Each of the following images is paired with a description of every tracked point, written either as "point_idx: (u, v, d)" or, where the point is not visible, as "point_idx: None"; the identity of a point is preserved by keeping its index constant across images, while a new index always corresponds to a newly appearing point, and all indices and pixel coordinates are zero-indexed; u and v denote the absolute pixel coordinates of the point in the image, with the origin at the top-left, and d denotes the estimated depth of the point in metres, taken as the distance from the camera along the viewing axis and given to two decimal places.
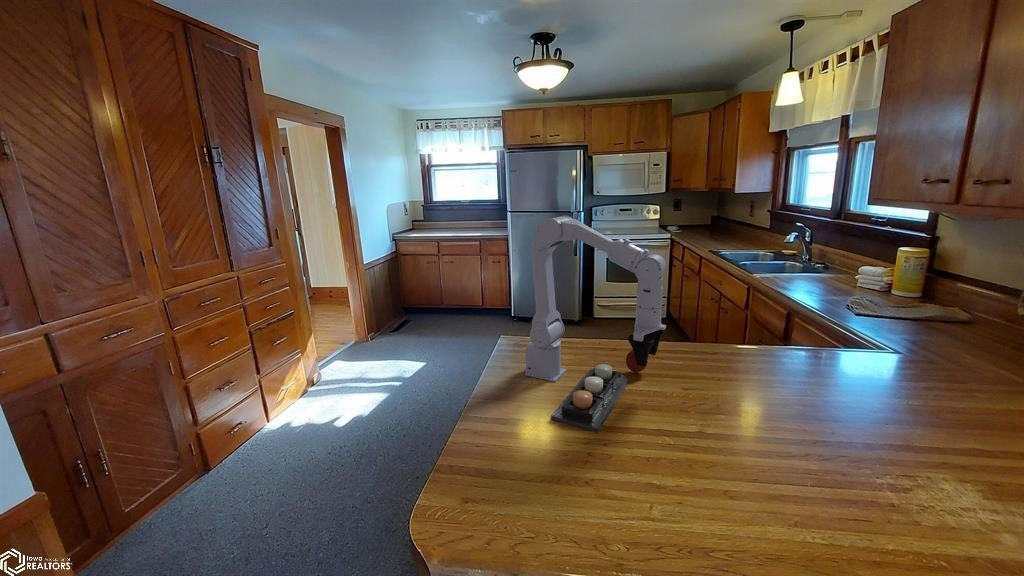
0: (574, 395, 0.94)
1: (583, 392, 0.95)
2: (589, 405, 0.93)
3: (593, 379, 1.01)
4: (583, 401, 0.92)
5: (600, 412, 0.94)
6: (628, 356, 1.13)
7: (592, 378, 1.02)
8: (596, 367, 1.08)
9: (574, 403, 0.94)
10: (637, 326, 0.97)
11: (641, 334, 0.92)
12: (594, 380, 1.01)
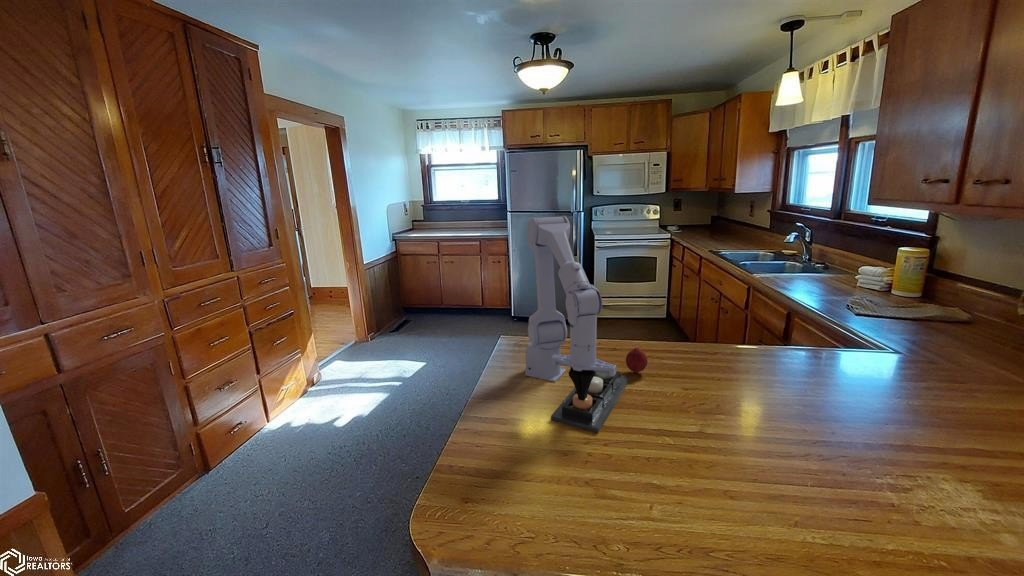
0: (574, 398, 0.94)
1: None
2: (589, 408, 0.93)
3: (593, 379, 1.01)
4: (583, 404, 0.92)
5: (600, 412, 0.94)
6: (628, 356, 1.13)
7: None
8: None
9: (574, 406, 0.94)
10: None
11: (551, 357, 0.95)
12: (594, 380, 1.01)
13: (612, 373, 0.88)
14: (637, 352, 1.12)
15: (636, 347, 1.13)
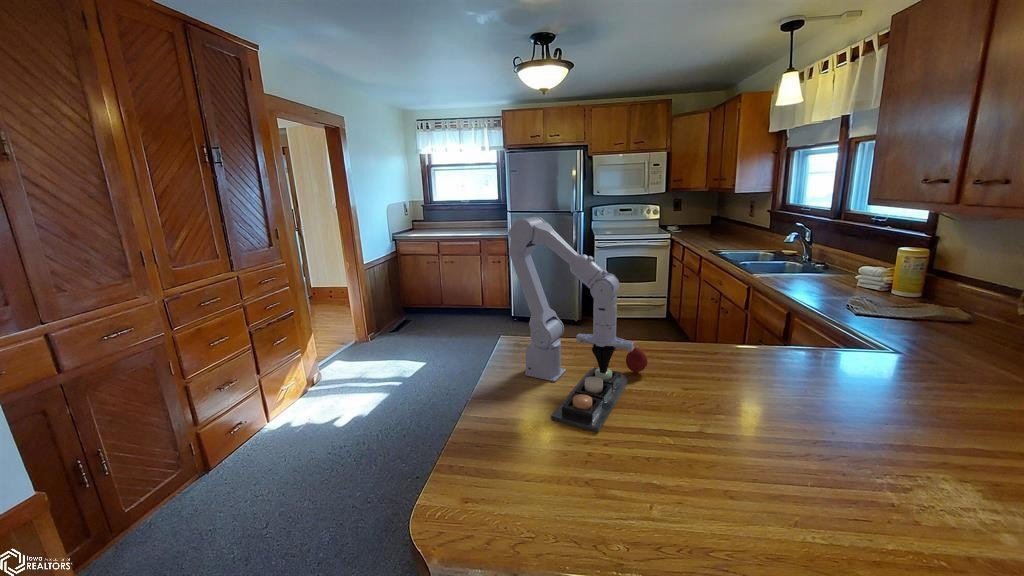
0: (574, 399, 0.94)
1: (583, 396, 0.95)
2: (589, 409, 0.93)
3: (593, 379, 1.01)
4: (583, 405, 0.92)
5: (600, 412, 0.94)
6: (628, 356, 1.13)
7: (592, 378, 1.02)
8: (596, 371, 1.08)
9: None
10: None
11: (576, 336, 1.08)
12: (594, 380, 1.01)
13: (630, 349, 1.02)
14: (637, 352, 1.12)
15: (636, 347, 1.13)
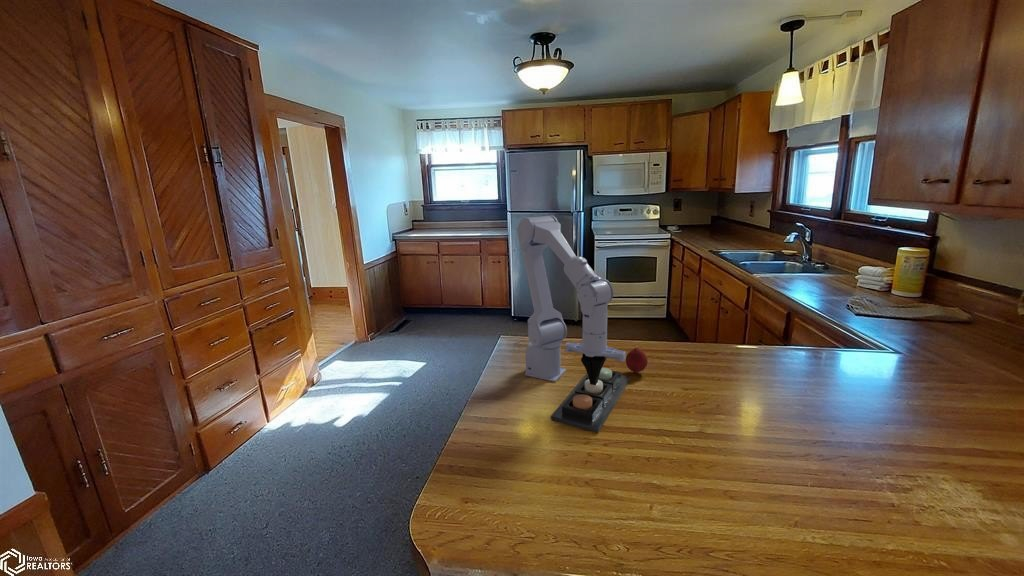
0: (574, 399, 0.94)
1: (583, 396, 0.95)
2: (589, 409, 0.93)
3: None
4: (583, 405, 0.92)
5: (600, 412, 0.94)
6: (628, 356, 1.13)
7: None
8: None
9: None
10: None
11: (565, 345, 1.02)
12: None
13: (622, 359, 0.95)
14: (637, 352, 1.12)
15: (636, 347, 1.13)
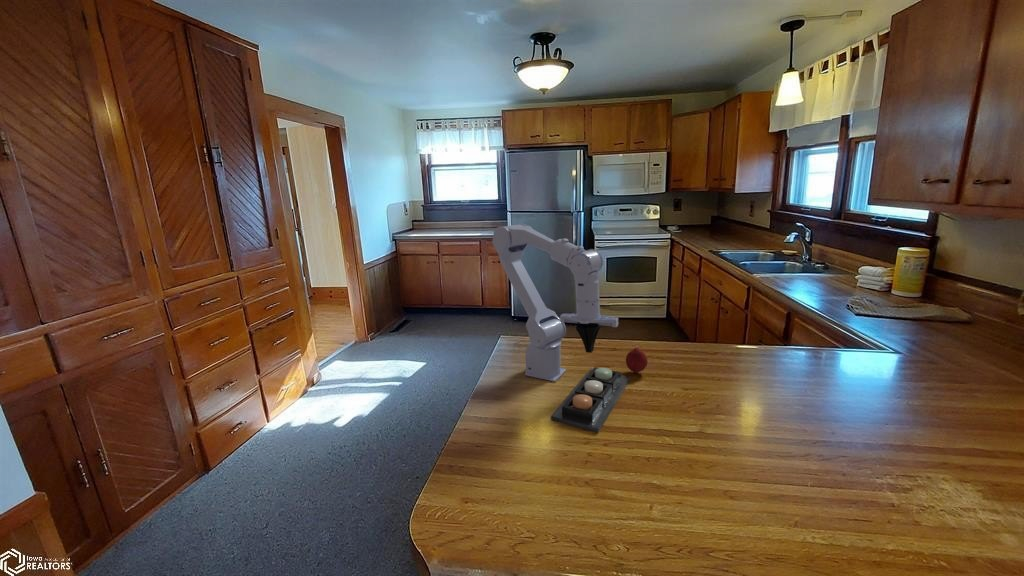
0: (574, 399, 0.94)
1: (583, 396, 0.95)
2: (589, 409, 0.93)
3: (593, 383, 1.01)
4: (583, 405, 0.92)
5: (600, 412, 0.94)
6: (628, 356, 1.13)
7: (592, 381, 1.02)
8: (596, 371, 1.08)
9: None
10: None
11: (560, 316, 1.06)
12: (594, 384, 1.01)
13: (615, 324, 0.99)
14: (637, 352, 1.12)
15: (636, 347, 1.13)
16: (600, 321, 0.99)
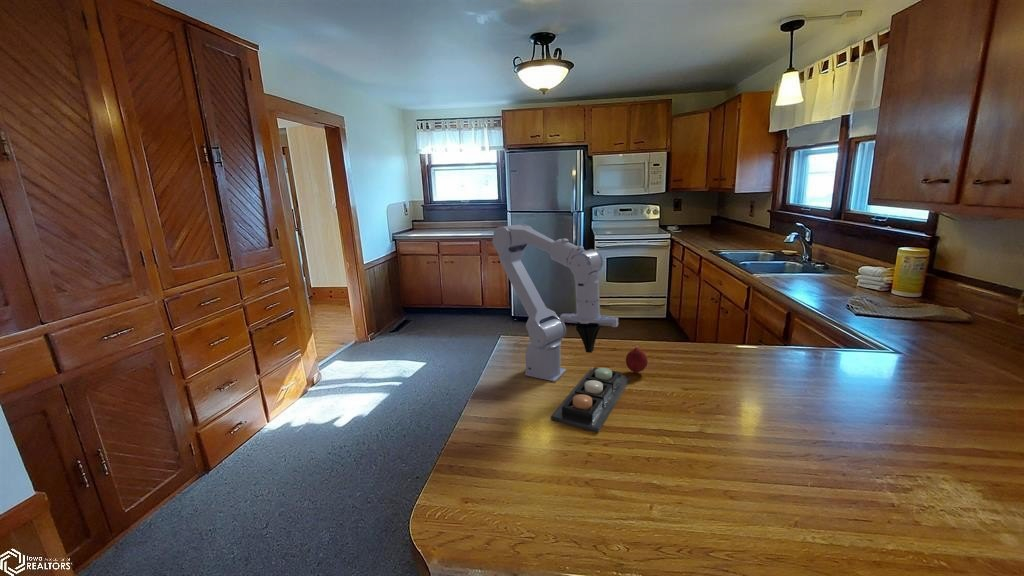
0: (574, 399, 0.94)
1: (583, 396, 0.95)
2: (589, 409, 0.93)
3: (593, 383, 1.01)
4: (583, 405, 0.92)
5: (600, 412, 0.94)
6: (628, 356, 1.13)
7: (592, 381, 1.02)
8: (596, 371, 1.08)
9: None
10: None
11: (560, 316, 1.06)
12: (594, 384, 1.01)
13: (615, 324, 0.99)
14: (637, 352, 1.12)
15: (636, 347, 1.13)
16: (600, 321, 0.99)
